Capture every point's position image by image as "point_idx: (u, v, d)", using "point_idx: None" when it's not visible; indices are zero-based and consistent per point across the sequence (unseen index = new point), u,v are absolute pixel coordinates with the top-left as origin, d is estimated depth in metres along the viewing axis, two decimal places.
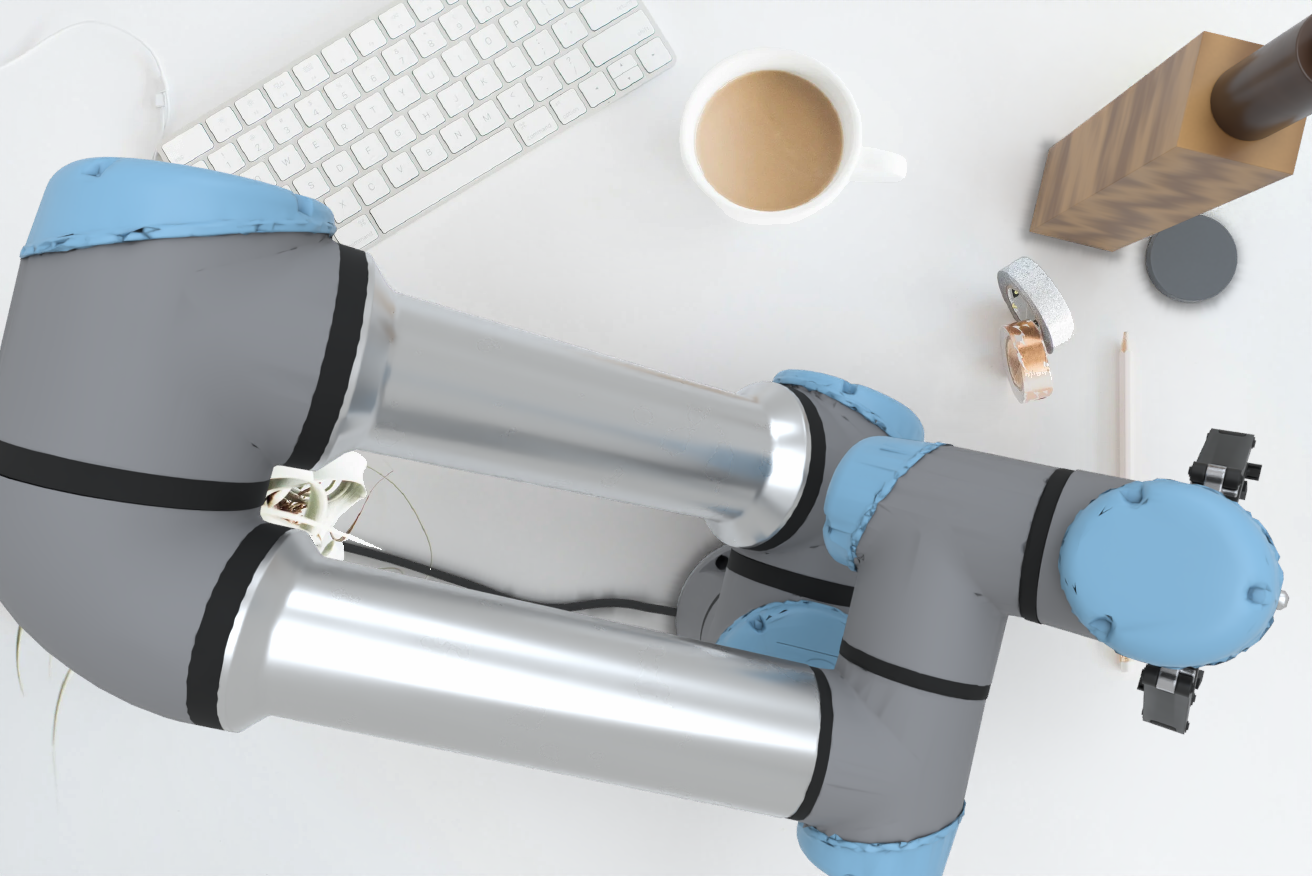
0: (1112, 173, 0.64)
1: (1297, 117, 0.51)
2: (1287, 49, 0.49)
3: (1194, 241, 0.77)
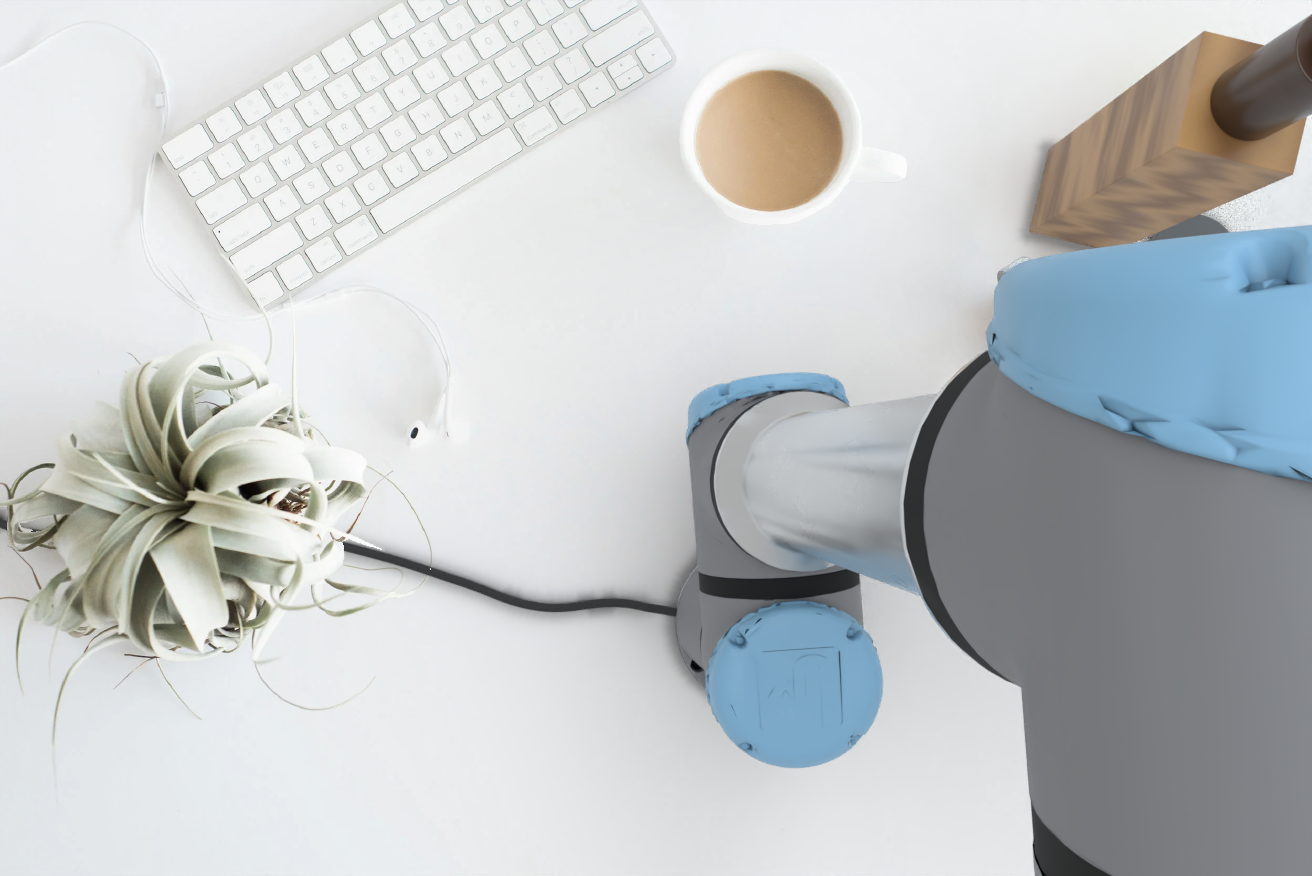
0: (1112, 173, 0.64)
1: (1297, 117, 0.51)
2: (1287, 49, 0.49)
3: None
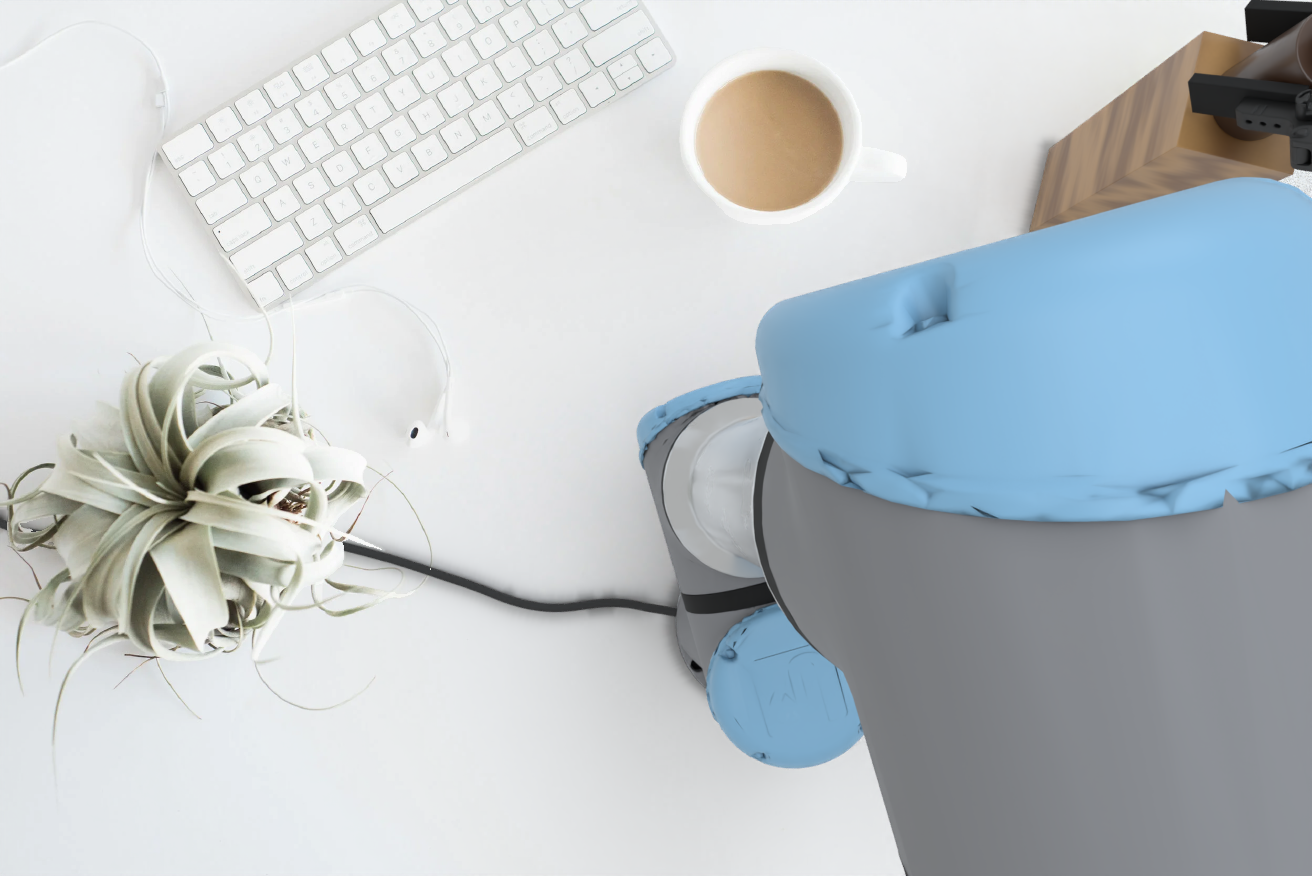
0: (1112, 173, 0.64)
1: None
2: (1287, 50, 0.49)
3: None
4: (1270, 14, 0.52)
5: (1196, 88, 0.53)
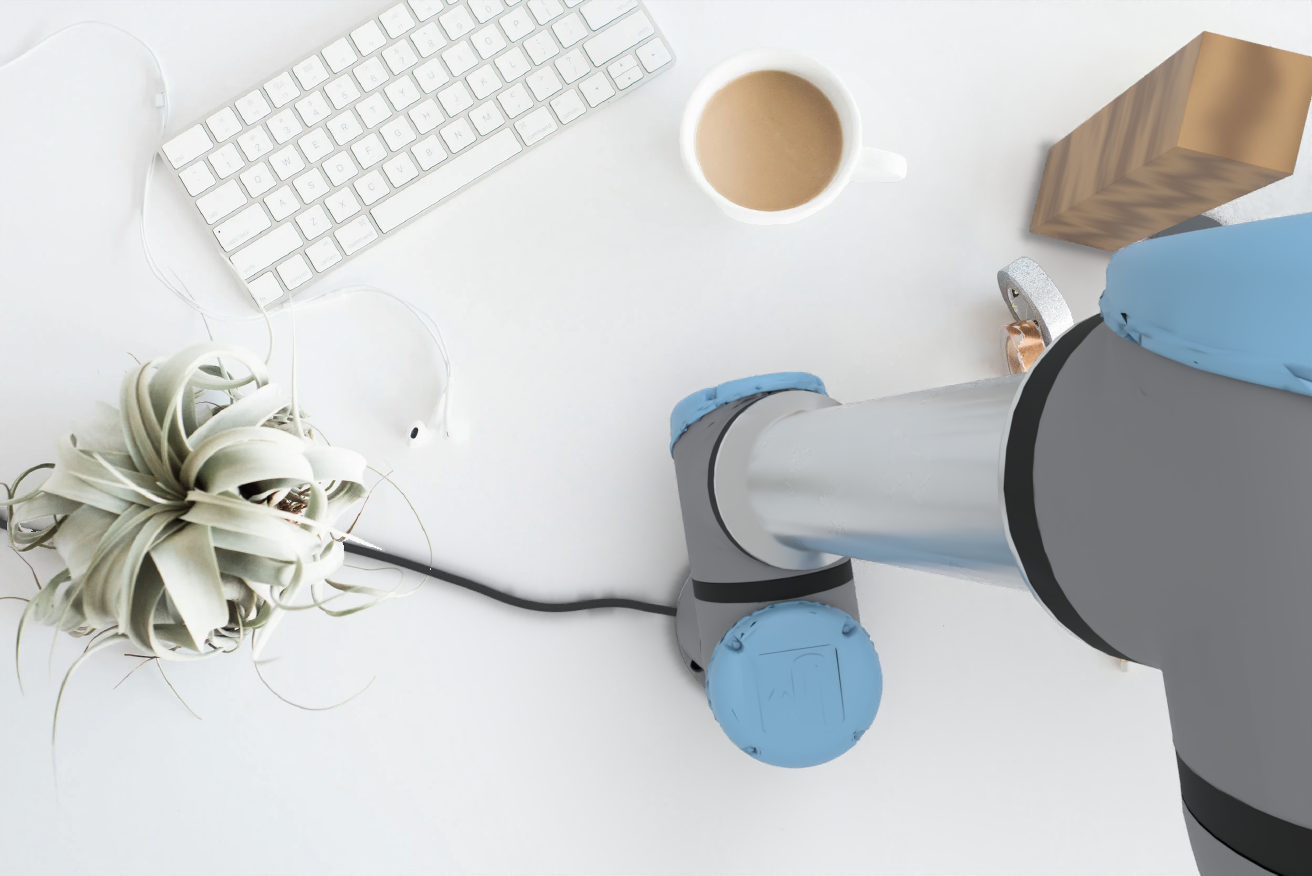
0: (1112, 173, 0.64)
1: None
2: None
3: None
4: None
5: None
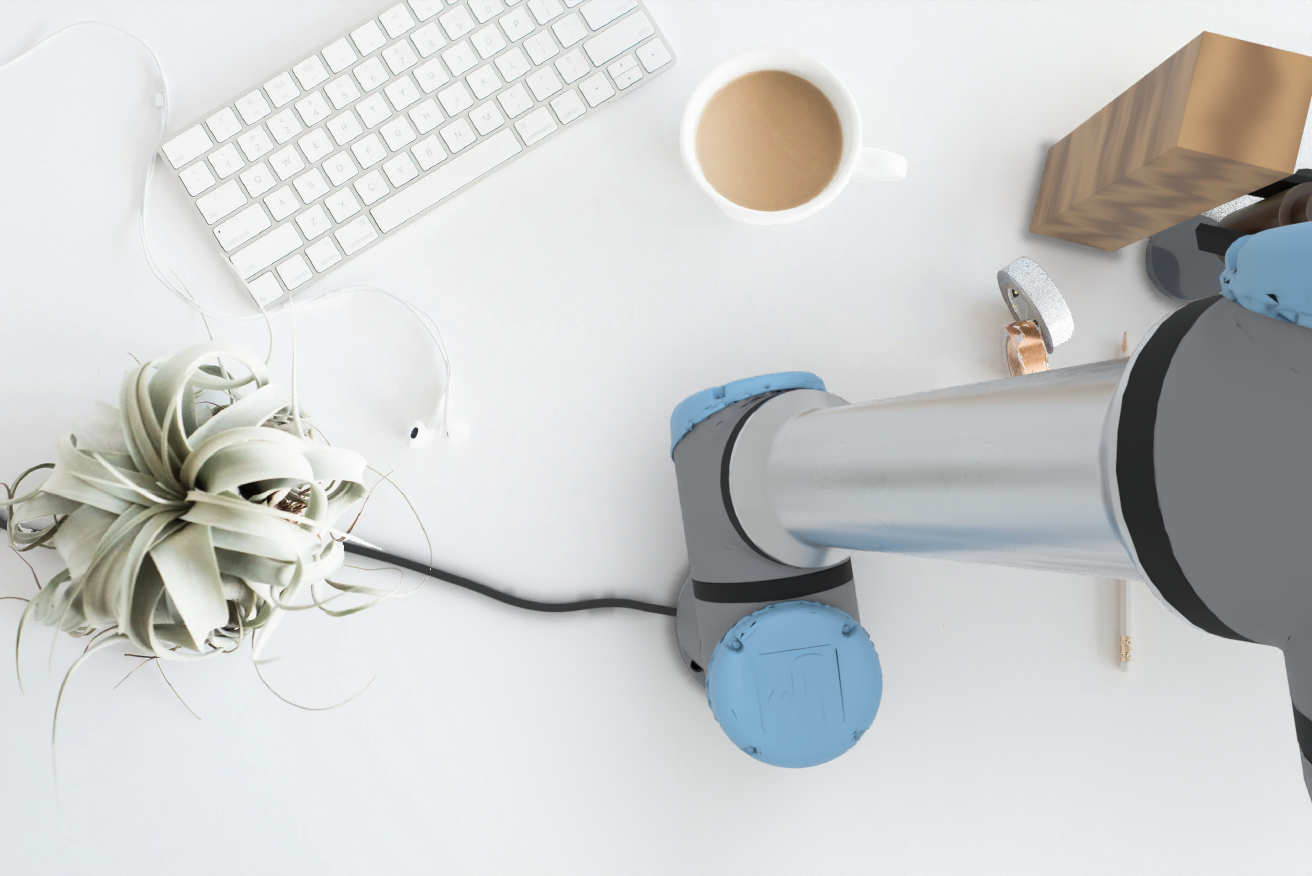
0: (1112, 173, 0.64)
1: None
2: (1272, 215, 0.63)
3: (1194, 241, 0.77)
4: None
5: (1201, 235, 0.68)
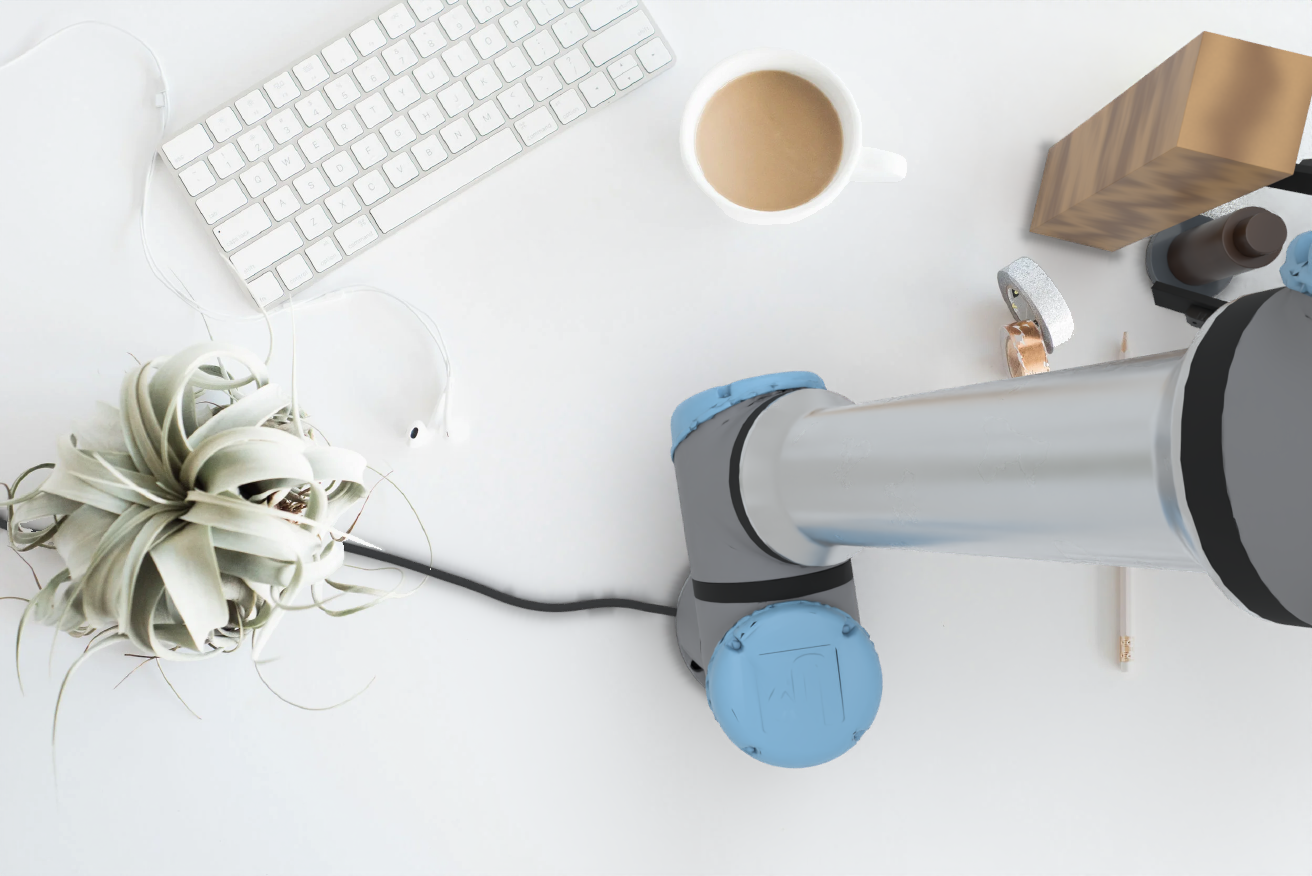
0: (1112, 173, 0.64)
1: (1226, 276, 0.72)
2: (1216, 236, 0.70)
3: None
4: None
5: (1157, 292, 0.71)
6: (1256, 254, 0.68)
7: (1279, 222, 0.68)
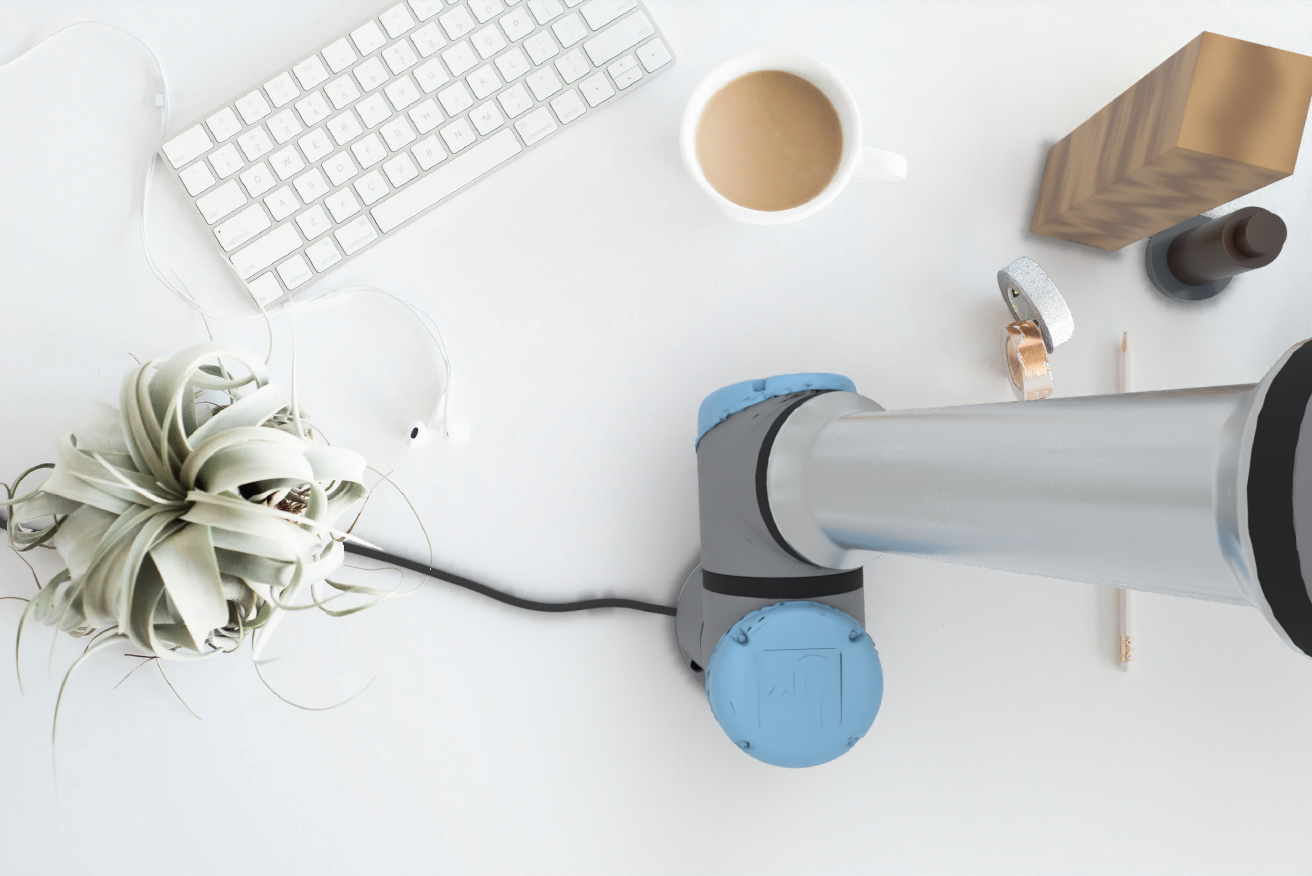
0: (1112, 173, 0.64)
1: (1226, 276, 0.72)
2: (1216, 236, 0.70)
3: None
4: None
5: None
6: (1256, 254, 0.68)
7: (1279, 222, 0.68)
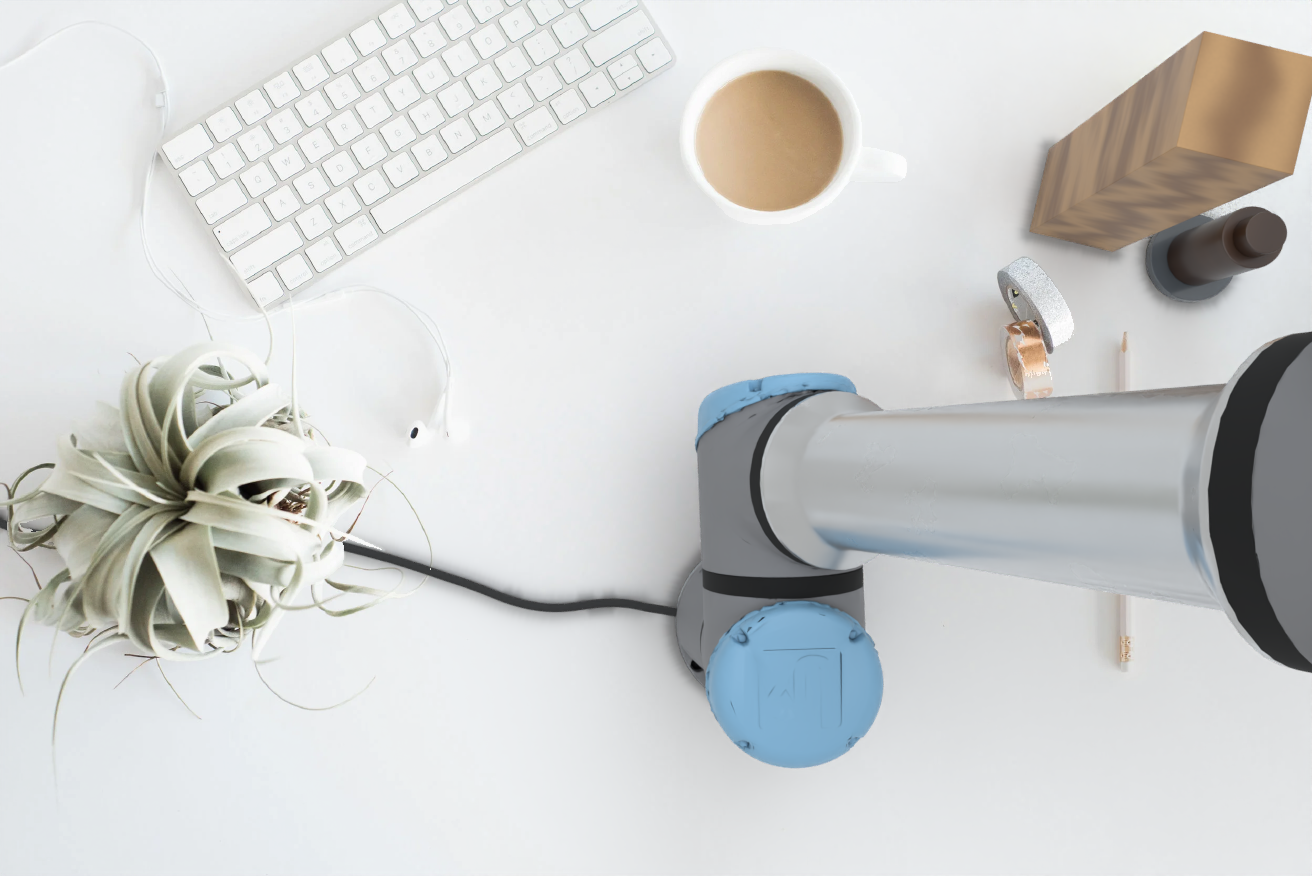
0: (1112, 173, 0.64)
1: (1226, 276, 0.72)
2: (1216, 236, 0.70)
3: None
4: None
5: None
6: (1256, 254, 0.68)
7: (1279, 222, 0.68)
